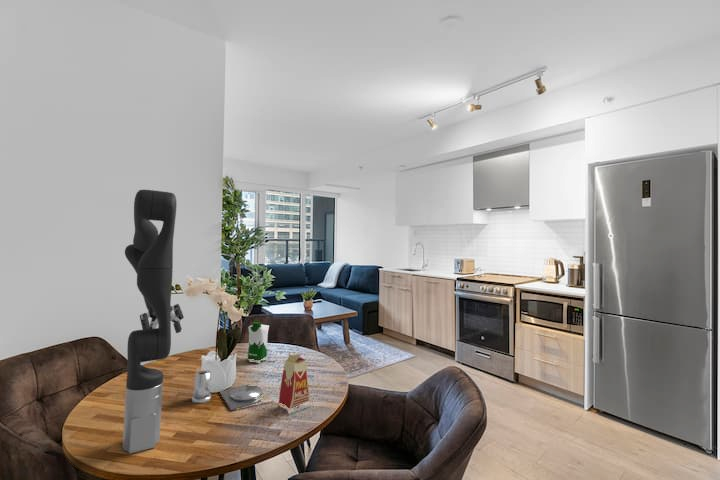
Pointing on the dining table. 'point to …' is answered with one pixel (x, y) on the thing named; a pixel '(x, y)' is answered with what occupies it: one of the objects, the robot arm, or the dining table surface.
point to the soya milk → (257, 341)
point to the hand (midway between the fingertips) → (168, 336)
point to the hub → (202, 387)
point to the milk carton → (294, 382)
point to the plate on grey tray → (241, 396)
